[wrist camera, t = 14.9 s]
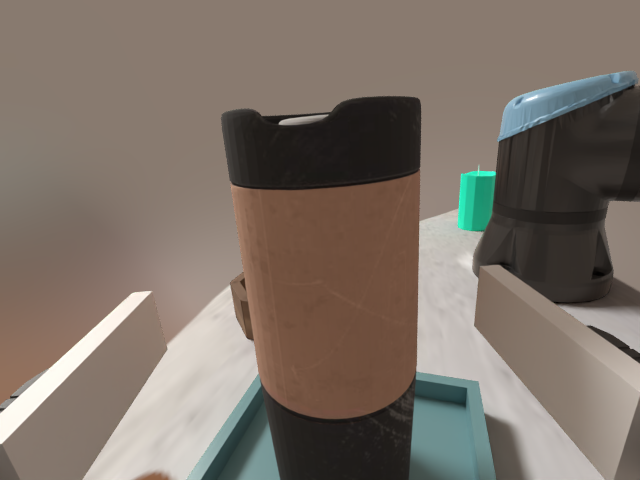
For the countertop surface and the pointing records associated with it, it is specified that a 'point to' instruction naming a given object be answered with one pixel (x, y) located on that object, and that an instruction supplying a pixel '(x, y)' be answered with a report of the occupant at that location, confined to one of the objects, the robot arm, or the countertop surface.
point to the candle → (476, 200)
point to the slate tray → (426, 446)
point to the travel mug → (332, 280)
